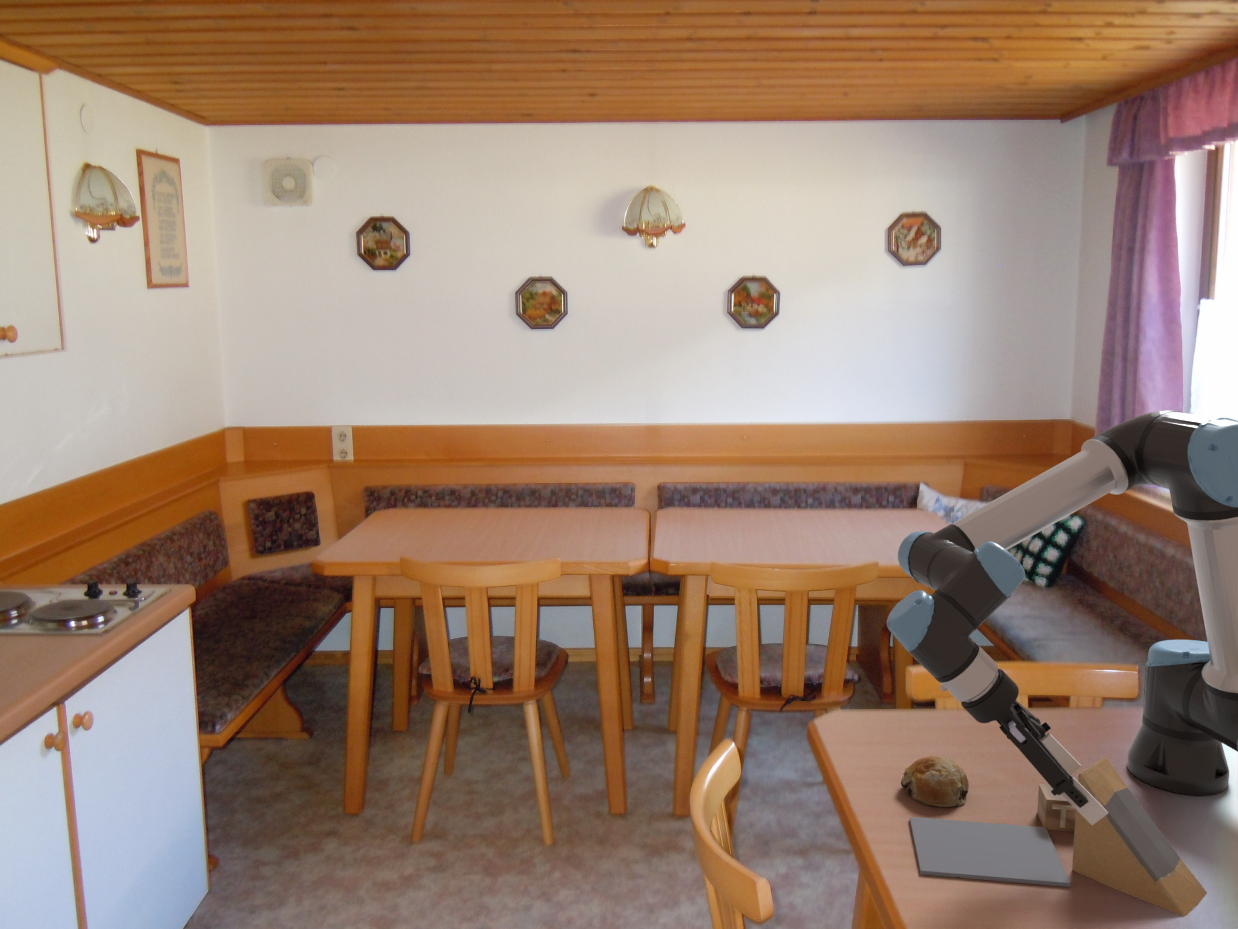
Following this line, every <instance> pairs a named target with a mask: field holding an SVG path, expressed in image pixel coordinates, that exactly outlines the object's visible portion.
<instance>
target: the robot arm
mask: <svg viewBox="0 0 1238 929" xmlns="http://www.w3.org/2000/svg"><path fill="white" fill-rule="evenodd" d="M1141 486H1157V487H1161V488H1163V489H1167V490H1169V495H1170V496H1169V497H1170V500H1171V507H1172V512H1173V514H1174V515H1175V517H1177V518H1178V519H1179V520H1181V521H1184V522H1185V523H1186V525H1187V530H1188V536H1189V541H1190V547H1191V552H1192V554H1191V555H1192V559H1193V564H1194V566H1193V567H1194V571H1195V572H1194V573H1195V577H1196V582H1197V589H1198V594H1199V599H1200V605H1201V606H1200V607H1201V612H1202V616H1203V622H1204V628H1205V629H1204V630H1205V635H1206V640H1207V641H1204V640H1203V641H1202V640H1195V639H1167V640H1161V641H1157V642H1155V643H1153V644H1152V645H1151V647H1150V648H1149V649H1148V654H1147V661H1146V663H1145V673H1144V674H1145V677H1144V692H1143V703H1142V704H1143V706H1142V719H1141V720H1142V721H1141V725H1140V727H1139V729H1138V732H1137V734H1136V735H1135V738H1134V739H1133V741H1132V744H1131V746H1130V748H1129V749H1128V752H1127V762H1126V767H1127V769H1128V771H1129V772H1130V773H1131V774H1132V775H1133V776H1134V777H1136V778H1137V779H1138V780H1139V781H1142V782H1143V783H1145V784H1148V785H1150V786H1152V787H1155V788H1158V789H1161V790H1164V791H1168V792H1172V793H1176V794H1177V793H1178V794H1183V795H1189V796H1190V795H1191V796H1209V795H1216V794H1220V793H1222V792H1224V791H1225V790H1227V788H1228V786H1229V781H1230V780H1229V779H1230V769H1229V768H1230V767H1229V765H1228V761H1227V758H1226V754H1225V751H1224V750H1225V749H1224V747H1223V746H1224V745H1226V746H1227V747H1229V748H1230V749H1232V750H1233V751H1236V752H1237V753H1238V420H1236V419H1232V418H1229V417H1213V416H1208V415H1207V416H1206V415H1201V414H1195V413H1194V414H1193V413H1189V412H1188V413H1187V412H1182V411H1179V410H1172V409H1171V410H1166V409H1165V410H1157V411H1152V412H1148V413H1143V414H1141V415H1137V416H1135V417H1133V418H1132V417H1131V418H1129V419H1128V420H1125V421H1123V422H1121V423H1118V424H1115V425H1113V426H1111V427H1110V428H1108V429H1106V430H1104V431H1102V432H1099V433H1098V434H1096V435H1095V436H1093V437H1091V438H1090V439H1087V440H1085V441H1084V442H1083V444H1082V445H1081V449H1080V452H1077V453H1076V454H1074V455H1073V456H1071V457H1068V458H1067V459H1065V460H1063V461H1062V462H1060V463H1058V464H1056V465H1055V466H1052V467H1051V468H1048V469H1047V470H1045V471H1044V472H1041V473H1040V474H1038V475H1036V476H1035V477H1033V478H1031V479H1029V480H1027V481H1026V482H1024V483H1022V484H1020V485H1018V486H1017V487H1015V488H1013V489H1011V490H1009V491H1007V492H1006V493H1004V494H1002V495H1001V496H999V497H997V498H995V499H994V500H992V501H990V502H988V503H986V504H984V505H983V506H981V507H979V508H977V509H975V510H974V511H972V512H970V513H968V514H967V515H965V516H963V517H961V518H960V519H958V520H955V521H954V522H952V523H951V524H949V525H947V526H945V527H943V528H942V529H940V530H937V531H936V532H931V531H924V530H920V531H914V532H912V533H910V534H908V535H907V536H906V537H904V538H903V540H902V541H901V543H900V544H899V547H898V552H897V560H898V564H899V566H900V568H901V570H902V571H903V573H905V574H906V575H908V576H909V577H910V578H911V579H913V581H915V582H916V583H918V584H920V585H924V586H926V587H928V588H929V589H932V590H933V591H934V592H932V594H929V593H927V592H926V591H925V590H921V589H919V590H915V591H912V592H911V593H909V594H907V595H906V596H905V597H904V598H903V599H901V600H899V602H898V603H896V605H894V607H893V608H892V610H891V611H890V613H889V615H888V616H887V618H886V619H887V620H886V627H887V629H888V630H889V632H890V633H891V634H892V635H893V637H895V638H896V640H897V641H898V642H899V643H900V644H901V646H902V647H903V649H904V650H906V651H907V652H908V653H909V654H910V656H912V658H914V659H915V660H916V661H917V662H918V663H919V664H920V665H921V666H922V667H923V668H924V669H925V670H926V671H927V672H928V673H929V674H930V675H931V676H932V677H933V678H934V679H935V680H936V681H937V682H938V683H939V684H940V686H939V689H940V691H941V692H942V693H945V692H946V691H948V692H949V694H950V695H951V696H952V697H953V698H954V700H956V701H957V702H958V703H959V702H960V704H961V706H962V708H963V709H964V710H965V712H967V713H968V714H969V715H970V716H971V717H972V718H973V719H974V720H975V721H976V722H978V723H980V724H988V723H991V722H993V721H996V722H997V724H999V727H998V728H999V729H1000V731H1001V732H1002V733H1003V734H1004V735H1005V736H1006V738H1007V739H1008V740H1010V742H1012V744H1013V745H1015V747H1016V748H1017V749H1018V750H1019V751H1020V753H1021V754H1022V755H1023V756H1024V757H1025V758H1026V759H1027V760H1028V762H1029V763H1030V764H1031V766H1033V768H1034V769H1035V770H1036V771H1037V772H1038V774H1040V776H1041V777H1043V779H1044V780H1045V781H1046V782H1047V785H1050V786H1051V787H1052V788H1053V790H1052V791H1051V793H1052V794H1053V795H1054V796H1055V795H1057V794H1058V795H1062V796H1063V797H1064V798H1065V799H1066V800H1067V801H1068V802H1069V803H1070V804H1071V805H1072V806H1073V807H1074V808H1075V809H1076V810H1077V811H1078V812H1079V813H1080V814H1081V815H1082V816H1083V817H1084V818H1085V819H1086V820H1087V821H1088V822H1089V823H1090V824H1091V825H1094V824H1095V823H1096V822H1098V821H1099V820H1100V819H1102V818H1103V817H1104V816H1106V815H1107V814H1108V812H1107V810H1106V809H1105V808H1104V807H1103V806H1102V805H1101V804H1100V803H1099V802H1098V801H1097V800H1096V799H1095V798H1094V797H1093V796H1092V795H1091V794H1090V793H1089V792H1088V791H1087V790H1086V789H1085V788H1084V787H1083V786H1082V785H1081V784H1080V783H1079V782H1078V779H1076V777H1074V776H1073V774H1074V773H1075V772H1076V771H1078V770H1079V769H1081V768H1082V765H1081V763H1079V762H1078V760H1077V759H1076V758H1075V757H1074V756H1073V755H1072V754H1071V753H1070V752H1069V751H1068V750H1067V749H1066V748H1065V747H1064V746H1063V745H1062V744H1061V743H1060V742H1059V741H1058V740H1057V739H1056V738H1055V737H1054V736H1053V735H1052V734H1051V732H1049V731H1050V730H1051V729H1052V727H1051V726H1050V725H1049V723H1047V722H1046V721H1045V722H1044V723H1042V722H1041V720H1040V719H1039V717H1036V716H1035V715H1034V714H1033V713H1032V712H1031V711H1029V710H1028V709H1027V708H1026V707H1024V706H1023V705H1022V704H1021V703H1020V702H1019V701H1018V700H1017V699H1018V697H1019V693H1020V688H1019V686H1018V685H1017V683H1016V682H1015V681H1014V680H1013V679H1012V678H1011V677H1010V676H1009V675H1008V674H1007V673H1006V672H1005V671H1004V670H1003V669H1002V668H999V665H998V664H997V662H996V661H995V660H994V659H992V657H991V656H990V655H989V654H987V652H985V650H984V649H983V648H982V647H981V646H980V645H979V644H977V643H976V642H975V641H974V640H973V638H972V637H971V636H972V634H974V633H975V632H976V631H977V629H979V627H980V626H981V625H982V624H983V623H984V622H986V620H987V619H988V618H989V617H990V616H991V615H993V613H995V611H997V610H998V609H999V608H1000V607H1001V606H1002V605H1003V604H1004V603H1005V602H1006V601H1007V600H1009V599H1010V598H1011V597H1012V595H1013V593H1014V592H1015V591H1016V590H1017V588H1018V587H1019V586H1020V585H1021V584H1022V583H1023V581H1024V580H1025V578H1026V572H1025V569H1024V566H1023V565H1022V564H1021V563H1020V561H1019V560H1018V559H1017V558H1016V557H1015V556H1014V555H1013V554H1012V553H1010V551H1009V549H1011V548H1013V547H1015V546H1017V545H1018V544H1020V543H1021V542H1024V541H1025V540H1027V539H1029V538H1031V537H1033V536H1034V535H1036V534H1038V533H1040V532H1042V531H1044V530H1045V529H1047V528H1049V527H1050V526H1053V525H1054V524H1056V523H1058V522H1059V521H1062V520H1063V519H1065V518H1067V517H1068V516H1071V515H1072V514H1073V513H1075V512H1077V511H1079V510H1081V509H1083V508H1084V507H1087V506H1088V505H1089V504H1092V503H1093V502H1095V501H1098V500H1099V499H1101V498H1102V497H1104V496H1105V495H1108V494H1112V495H1121V494H1123V493H1125V492H1127V491H1129V490H1131V489H1132V488H1136V487H1141ZM1047 732H1048V733H1047ZM1046 733H1047V734H1046ZM1223 744H1224V745H1223Z"/></svg>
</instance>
